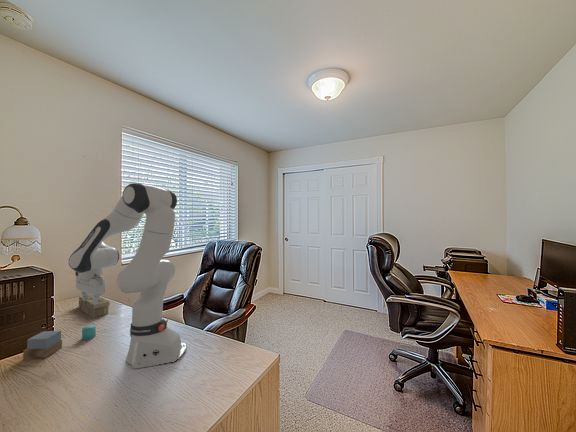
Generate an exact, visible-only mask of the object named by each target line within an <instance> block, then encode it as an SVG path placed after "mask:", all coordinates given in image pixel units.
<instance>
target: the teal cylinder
mask: <svg viewBox="0 0 576 432" xmlns="http://www.w3.org/2000/svg"><path fill="white" fill-rule="evenodd" d="M96 327H97V325H96V324H88V325H86V326H83V327H82V328H81V340H82V341H90V340H91V339H94V338H96V329H97V328H96Z"/></svg>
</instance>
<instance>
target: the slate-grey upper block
mask: <svg viewBox="0 0 576 432" xmlns="http://www.w3.org/2000/svg"><path fill="white" fill-rule="evenodd" d="M60 340H62V330H50V331H49V330H46V331H45V330H44V331H41V332H40V333H37V334H35V335H33V336H31V337H30V338H28V339H27V345H26V349H47V348H48V347H50V346H52V345H53V344H55V343H57V342H58V341H60Z"/></svg>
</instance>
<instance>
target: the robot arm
mask: <svg viewBox="0 0 576 432" xmlns="http://www.w3.org/2000/svg"><path fill="white" fill-rule="evenodd" d="M121 195H122V196H121V197H120V198H119V200H118V201H117V204H115V206H114V209H112V211H111V212H110V213H109V214H108V215H107V216H106V217H105V218H103V219H102V220H100V221H99V222H98V223H96V225H95V226H94V227H93V228H92V230H91V231H90V232H89V233H88V235H87V236H86V237H85V238H84V239H83V241H82V242H81V244H80V245H79V247H77V248H76V249H75V250H74V251H73V252H72V254H71V255H70V256H69V258H68V266H69V268H71V269H72V270H73V271H74V275H75V288H76V290H77V291H78V292H80V293H81V296H82V297H83V299H82V300H84V301H86V300H88V294H91V295H93V297H94V298H93V300H92V304H97V303H98V299H99V297H100V298H101V296H102V295H105V293H106V282H105V278H103V273H104V270H103V269H104V268H105V269H106V268H111V267H113V266H116V265H117V264H118V262H119V260H120V252H119V250H118V249H117V248H116V247H113V246H110V245H107V244H105V242H104V241H105V240H106V239H108V238H110V237H111V236H114V235H117V234H121V233H124V232H128V231H130V230H133V229H134V228H136V226H137V225H138V224H139V223H140V222H141V219H142V218H143V216H144V214H145V218H146V219H145V222H144V227H143V231H142V234H141V239H140V243H139V246H138V249H137V251H136V253H135V254H134V256H133V258H132V259H131V261H130V262H129V263H128V264H127V265H126V266H125V267H124V268H123V269H121V271H120V272H119V273H118V275H117V278H116V285H117V287H118V289H119V291H120V292H122V293H124V294H136V293H139V295H138V296H137V298H136V299H135V300H134V302H133V303H132V307H131V309H132V310H131V312H132V313H131V315H132V316H131V323H130V328H129V331H130V332H129V336H130V341H129V347H128V348H129V349H128V352H127V355H126V358H125V362H126V363H127V364H129V365H131V368H132V369H141V368H149V367H154V366H160V365H159V364H161V365H165V364H164V363H168V364H170V363H169V362H173V361H176V360H177V359H179V358H180V357H181V356H182V355H183V353H184V352H186V351H187V344H186V343H185V342H182V339H181V336H180V334H179V333H178V332H176V331H174V330H173V329H172V328H170V327H168V322H169V319H166V320H165V319H164V317H163V311H164V309H163V308H164V298H165V295H166V292H167V289H168V286H169V284H170V281H171V280H172V279H173V278H174V276H175V274H176V266H175V265H174V262H172V261H171V260H168V259H163V257H164V256H166V254H168V252H169V251H170V248H171V244H172V240H173V239H172V238H173V236H174V230H175V222H176V221H175V220H176V212H175V208H176V207H177V204H178V197H177V195H176V193H175V192H173V191H171V190H169V189H166V188H165V189H164V188H161V187H159V186H155V185H150V184H142V183H139V182H138V183H129V184H128V185H126V186H125V188H124V189H123V192H122V193H121ZM183 346H184V347H183ZM185 350H186V351H185ZM184 354H185V353H184ZM183 356H184V355H183ZM183 356H182V357H183ZM182 357H181V358H182ZM181 358H180V359H181ZM180 359H179V360H180ZM177 361H178V360H177ZM177 361H176V362H177Z"/></svg>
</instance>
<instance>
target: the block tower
mask: <svg viewBox="0 0 576 432" xmlns="http://www.w3.org/2000/svg"><path fill="white" fill-rule="evenodd" d="M87 294H88V293H87ZM93 298H94V297H93V295H91V294H88V300H86V301H84V300H82V299H83V297H82V295H79V296H78V309H80V308H81V309H80V310H81V311H82V312H84V313H85V314H86V315H88V316H90V317H91V318H92V319H93V318H97V317H102V316H104V315H107V314H109V306H110V301H109V300H107V299H105V298H104V297H101V296H100V297H99V299H98V303H97V304H92V300H93Z"/></svg>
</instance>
